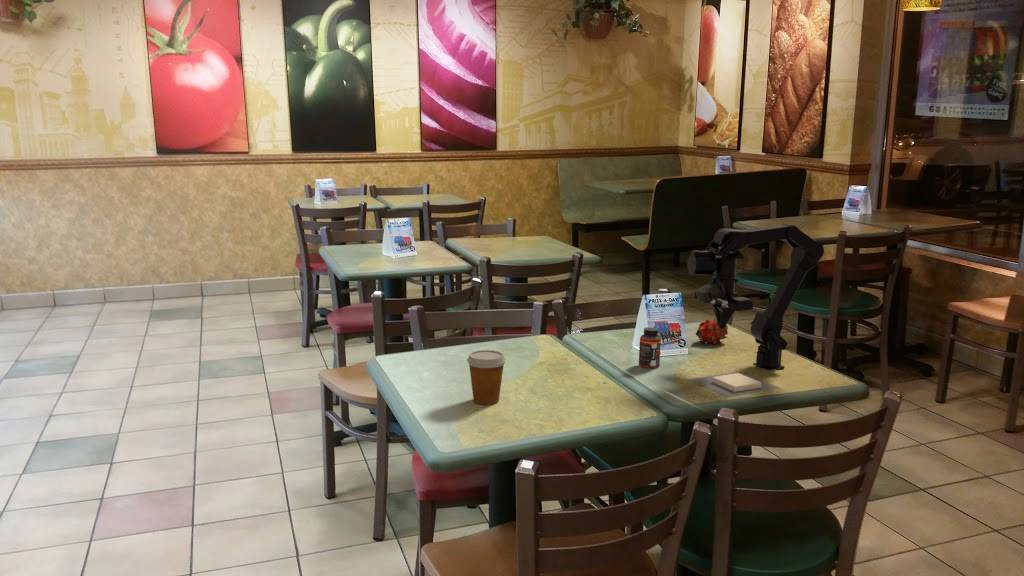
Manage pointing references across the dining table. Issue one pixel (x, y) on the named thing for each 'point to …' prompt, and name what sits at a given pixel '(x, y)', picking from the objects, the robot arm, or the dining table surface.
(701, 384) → the mat
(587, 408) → the dining table surface
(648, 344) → the supplement bottle
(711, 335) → the dragon fruit
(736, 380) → the tile
